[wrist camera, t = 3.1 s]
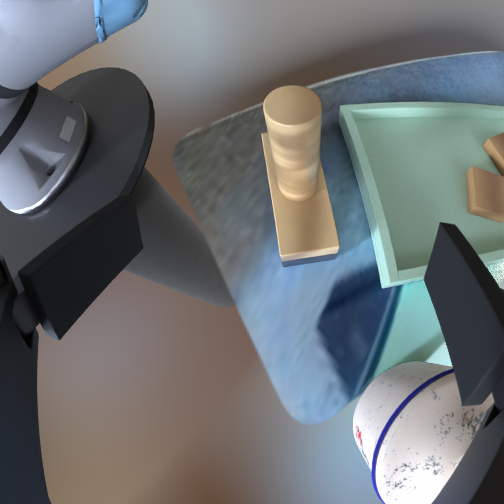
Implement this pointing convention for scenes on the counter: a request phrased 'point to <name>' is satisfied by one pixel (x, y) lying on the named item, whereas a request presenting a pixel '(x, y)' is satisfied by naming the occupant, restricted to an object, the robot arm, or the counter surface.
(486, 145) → the cork piece
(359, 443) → the teacup with lid
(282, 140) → the brush
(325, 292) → the counter surface
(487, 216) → the cork piece
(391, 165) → the tray
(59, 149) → the robot arm
